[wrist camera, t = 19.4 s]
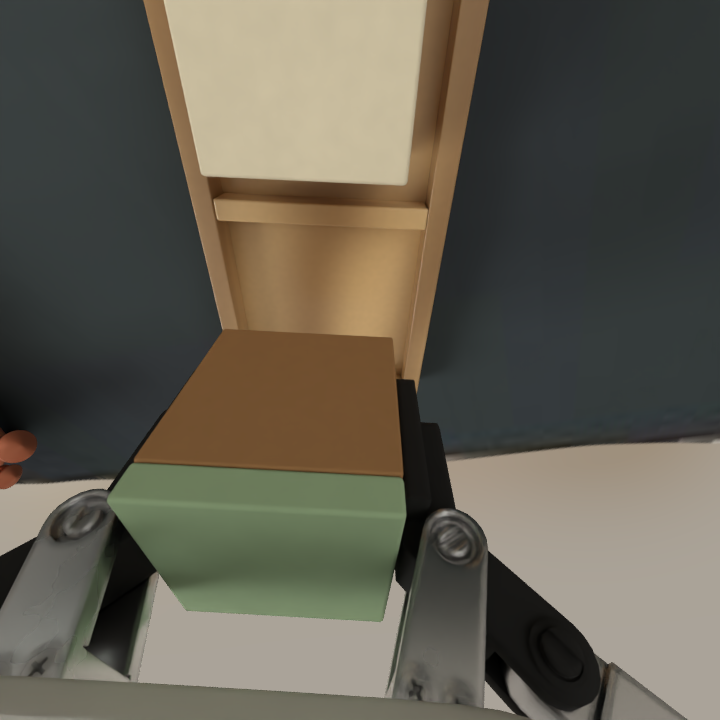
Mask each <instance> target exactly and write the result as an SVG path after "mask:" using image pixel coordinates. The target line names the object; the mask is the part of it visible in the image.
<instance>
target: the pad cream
mask: <svg viewBox="0 0 720 720" xmlns="http://www.w3.org/2000/svg"><path fill="white" fill-rule="evenodd" d="M164 4H165V9H166V14H167V18H168V23H169V27H170V32H171V37H172V41H173V46H174V51H175V55H176V60H177V65H178V69H179V74H180V79H181V83H182V88H183V92H184V97H185V102H186V106H187V111H188V116H189V120H190V125H191V130H192V134H193V139H194V144H195V148H196V153H197V157H198V162H199V167H200V171H201V174H202V175H204V176H207V177H228V178H249V179H270V180H291V181H313V182H334V183H355V184H376V185H397V186H404V185H406V184H407V182H408V173H409V164H410V155H411V146H412V136H413V127H414V118H415V109H416V100H417V91H418V81H419V72H420V63H421V54H422V45H423V35H424V26H425V17H426V8H427V0H164Z"/></svg>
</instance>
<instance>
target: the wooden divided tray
mask: <svg viewBox="0 0 720 720" xmlns="http://www.w3.org/2000/svg"><path fill="white" fill-rule="evenodd" d="M143 1H144V5H145V9H146V13H147V17H148V21H149V25H150V30H151V34H152V38H153V42H154V46H155V50H156V55H157V59H158V63H159V67H160V71H161V75H162V80H163V84H164V88H165V92H166V96H167V100H168V105H169V109H170V113H171V117H172V121H173V125H174V130H175V134H176V138H177V142H178V146H179V150H180V155H181V159H182V163H183V167H184V171H185V175H186V180H187V184H188V188H189V192H190V196H191V200H192V205H193V209H194V213H195V217H196V221H197V225H198V230H199V234H200V238H201V242H202V246H203V250H204V255H205V259H206V263H207V267H208V271H209V275H210V279H211V284H212V288H213V292H214V296H215V300H216V304H217V309H218V313H219V317H220V321H221V325H222V329H223V330H224V329H236V330H255V331H275V332H294V333H313V334H333V335H352V336H372V337H391V338H392V339H393V346H394V359H395V372H396V379H410V380H414V381H415V388H416V394H417V389H418V383H419V378H420V372H421V367H422V362H423V356H424V351H425V345H426V340H427V335H428V329H429V324H430V318H431V313H432V308H433V302H434V297H435V291H436V286H437V281H438V275H439V270H440V264H441V259H442V254H443V248H444V243H445V237H446V232H447V227H448V221H449V216H450V210H451V205H452V200H453V194H454V189H455V183H456V178H457V173H458V167H459V162H460V156H461V151H462V146H463V140H464V135H465V129H466V124H467V119H468V113H469V108H470V102H471V97H472V92H473V86H474V81H475V75H476V70H477V65H478V59H479V54H480V48H481V43H482V38H483V32H484V27H485V21H486V16H487V11H488V5H489V0H427V8H426V17H425V26H424V35H423V45H422V54H421V63H420V72H419V81H418V91H417V100H416V109H415V118H414V127H413V136H412V146H411V155H410V164H409V173H408V182H407V184H406V185H404V186H397V185H376V184H355V183H334V182H313V181H291V180H270V179H249V178H228V177H207V176H204V175H202V174H201V171H200V167H199V162H198V157H197V153H196V148H195V144H194V139H193V134H192V130H191V125H190V120H189V116H188V111H187V106H186V102H185V97H184V92H183V88H182V83H181V79H180V74H179V69H178V65H177V60H176V55H175V51H174V46H173V41H172V37H171V32H170V27H169V23H168V18H167V14H166V9H165V4H164V0H143Z"/></svg>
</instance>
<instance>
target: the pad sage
mask: <svg viewBox="0 0 720 720" xmlns="http://www.w3.org/2000/svg"><path fill="white" fill-rule="evenodd" d="M107 503H108V504H109V506H110V507H111V508H112V510H113V511H114V513H115V514H116V515H117V517H118V518H119V519H120V521H121V522H122V523H123V525H124V526H125V528H126V529H127V530H128V532H129V533H130V534H131V536H132V537H133V539H134V540H135V541H136V543H137V544H138V545H139V547H140V548H141V550H142V551H143V552H144V554H145V555H146V556H147V558H148V559H149V560H150V562H151V563H152V565H153V566H154V567H155V569H156V570H157V571H158V573H159V574H160V575H161V577H162V578H163V580H164V581H165V582H166V584H167V585H168V586H169V588H170V589H171V591H172V592H173V593H174V595H175V596H176V597H177V599H178V600H179V601H180V603H181V604H182V606H183V607H184V608H185V609H186V610H187V611H201V612H219V613H236V614H237V613H238V614H254V615H272V616H289V617H306V618H324V619H341V620H358V621H375V622H381V621H383V618H384V613H385V609H386V605H387V600H388V596H389V591H390V586H391V582H392V578H393V573H394V569H395V564H396V560H397V555H398V551H399V547H400V542H401V538H402V533H403V529H404V524H405V520H406V502H405V489H404V482H403V461H402V448H401V435H400V423H399V410H398V397H397V384H396V372H395V359H394V346H393V339H392V338H391V337H372V336H352V335H333V334H313V333H294V332H275V331H255V330H236V329H224V330H223V332H222V333H221V334H220V336H219V337H218V339H217V340H216V342H215V343H214V344H213V346H212V347H211V349H210V350H209V352H208V353H207V354H206V356H205V357H204V359H203V360H202V362H201V363H200V365H199V366H198V367H197V369H196V370H195V372H194V373H193V375H192V376H191V377H190V379H189V380H188V382H187V383H186V385H185V386H184V387H183V389H182V390H181V392H180V393H179V395H178V396H177V397H176V399H175V400H174V402H173V403H172V405H171V406H170V408H169V409H168V410H167V412H166V413H165V415H164V416H163V418H162V419H161V420H160V422H159V423H158V425H157V426H156V428H155V429H154V430H153V432H152V433H151V435H150V436H149V438H148V439H147V440H146V442H145V443H144V445H143V446H142V448H141V449H140V450H139V452H138V453H137V455H136V456H135V458H134V463H132V464H131V465H130V466H129V467H128V469H127V470H126V471H125V473H124V474H123V476H122V477H121V479H120V480H119V481H118V483H117V484H116V486H115V487H114V489H113V490H112V492H111V493H110V494H109V496H108V498H107Z"/></svg>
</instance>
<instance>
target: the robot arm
mask: <svg viewBox="0 0 720 720" xmlns="http://www.w3.org/2000/svg"><path fill="white" fill-rule="evenodd" d="M194 372H195V371H194ZM194 372H193V373H194ZM193 373H192V375H193ZM192 375H191V376H192ZM191 376H190V377H191ZM189 379H190V378H189ZM189 379H188V380H189ZM187 382H188V381H187ZM187 382H186V383H187ZM186 383H185V385H186ZM396 384H397V397H398V410H399V423H400V435H401V448H402V461H403V482H404V489H405V502H406V520H405V524H404V529H403V533H402V538H401V542H400V547H399V551H398V555H397V560H396V564H395V569H394V570H395V574H396V575H395V576H396V581H397V582H398V583H399V585H400V586H401V587H402V588H403V589H404V590H405V595H404V601H403V606H402V611H401V616H400V621H399V626H398V631H397V636H396V641H395V646H394V651H393V657H392V661H391V666H390V672H389V676H388V681H387V687H386V692H385V697H384V698H376V697H360V696H344V695H329V694H314V693H298V692H283V691H282V692H281V691H267V690H251V689H234V688H218V687H217V688H216V687H201V686H184V685H167V684H151V683H137V682H138V677H139V672H140V667H141V662H142V657H143V652H144V647H145V642H146V637H147V632H148V627H149V622H150V617H151V612H152V607H153V602H154V597H155V592H156V587H157V583H158V578H159V573H158V571H157V570H156V569H155V567H154V566H153V565H152V563H151V562H150V560H149V559H148V558H147V556H146V555H145V554H144V552H143V551H142V550H141V548H140V547H139V545H138V544H137V543H136V541H135V540H134V539H133V537H132V536H131V534H130V533H129V532H128V530H127V529H126V528H125V526H124V525H123V523H122V522H121V521H120V519H119V518H118V517H117V515H116V514H115V513H114V511H113V510H112V508H111V507H110V506H109V504H108V503H107V498H108V496H109V494H110V493H111V492H112V490H113V489H114V487H115V486H116V484H117V483H118V481H119V480H120V479H121V477H122V476H123V474H124V473H125V471H126V470H127V469H128V467H129V466H130V465H131V464H132V463H134V458H135V456H136V455H137V453H138V452H139V450H140V449H141V448H142V446H143V445H144V443H145V442H146V440H147V439H148V438H149V436H150V435H151V433H152V432H153V430H154V429H155V428H156V426H157V425H158V423H159V422H160V420H161V419H162V418H163V416H164V415H165V413H166V412H167V410H168V409H169V408H170V406H171V405H172V403H173V402H174V400H175V399H176V398H175V399H174V400H173V402H172V403H171V405H170V406H169V408H168V409H167V410H165V411H164V412H163V413H162V414H161V415H160V416H159V418H158V419H157V421H156V422H155V423H154V425H153V426H152V428H151V429H150V430H149V432H148V433H147V435H146V436H145V437H144V439H143V440H142V442H141V443H140V444H139V446H138V447H137V449H136V450H135V452H134V453H133V454H132V456H131V457H130V459H129V460H128V461H127V463H126V464H125V466H124V467H123V468H122V470H121V471H120V473H119V474H118V475H117V477H116V478H115V480H114V481H113V482H112V484H111V485H110V487H109V488H108V489H107V490H104V489H92V490H88V491H85V492H81V493H79V494H77V495H75V496H73V497H71V498H69V499H68V500H66V501H65V502H63V503H62V504H61V505H59V506H58V507H57V508H56V509H55V510H54V511H53V512H52V513H51V514H50V515H49V517H48V518H47V520H46V521H45V523H44V524H43V526H42V528H41V530H40V532H39V534H38V536H37V537H35V538H33V539H32V540H30V541H28V542H26V543H24V544H22V545H20V546H18V547H17V548H15V549H13V550H11V551H9V552H7V553H5V554H4V555H1V556H0V720H687V719H686V718H685V717H683V716H682V715H681V714H679V713H678V712H677V711H676V710H674V709H673V708H672V707H670V706H669V705H668V704H666V703H665V702H664V701H662V700H661V699H660V698H659V697H657V696H656V695H654V694H653V693H652V692H651V691H649V690H648V689H647V688H645V687H644V686H643V685H642V684H640V683H639V682H638V681H636V680H635V679H634V678H632V677H631V676H630V675H628V674H627V673H626V672H625V671H623V670H622V669H621V668H619V667H618V666H617V665H615V664H614V663H613V662H611V663H610V664H607V663H606V662H605V661H603V660H602V659H601V658H599V657H598V656H597V655H595V654H594V652H593V650H592V648H591V647H590V645H589V643H588V642H587V640H586V639H585V637H584V636H583V635H582V633H581V632H579V630H578V629H577V628H576V627H575V626H574V625H573V624H572V623H571V622H569V621H568V620H567V619H566V618H565V617H564V616H563V615H561V614H560V613H559V612H558V611H557V610H556V609H555V608H554V607H552V606H551V605H550V604H549V603H548V602H547V601H545V600H544V599H543V598H542V597H541V596H539V595H538V594H537V593H536V592H535V591H534V590H533V589H532V588H531V587H529V586H528V585H527V584H526V583H525V582H523V581H522V580H521V579H520V578H519V577H518V576H517V575H516V574H514V573H513V572H512V571H511V570H510V569H508V567H506V566H505V565H504V564H503V563H502V562H501V561H499V560H498V559H497V558H496V557H495V556H494V555H492V554H491V553H490V552H489V551H488V546H487V539H486V537H485V534H484V532H483V530H482V528H481V527H480V526H479V525H478V523H477V522H476V521H475V520H474V519H473V518H471V517H470V516H469V515H468V514H466V513H464V512H462V511H460V510H457V509H456V508H455V503H454V498H453V493H452V488H451V483H450V478H449V473H448V468H447V463H446V458H445V453H444V448H443V443H442V438H441V433H440V429H439V426H438V424H437V423H422V422H420V415H419V408H418V401H417V394H416V388H415V381H414V380H410V379H396ZM185 385H184V386H185ZM184 386H183V387H184ZM182 389H183V388H182ZM182 389H181V390H182ZM180 392H181V391H180ZM180 392H179V393H180ZM179 393H178V395H179ZM178 395H177V396H178ZM177 396H176V397H177ZM485 681H486V682H487V683H488V684H489V685H490V687H491V688H492V689H493V690H494V691H495V692H496V693H497V694H498V696H499V697H500V698H501V699H502V700H503V701H504V702H505V703H506V704H507V706H508V707H509V708H510V709H511V710H512V711H513V712H514V713H515V714H512V713H508V712H504V711H500V710H494V709H487V708H484V684H485ZM516 714H517V715H516Z"/></svg>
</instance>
